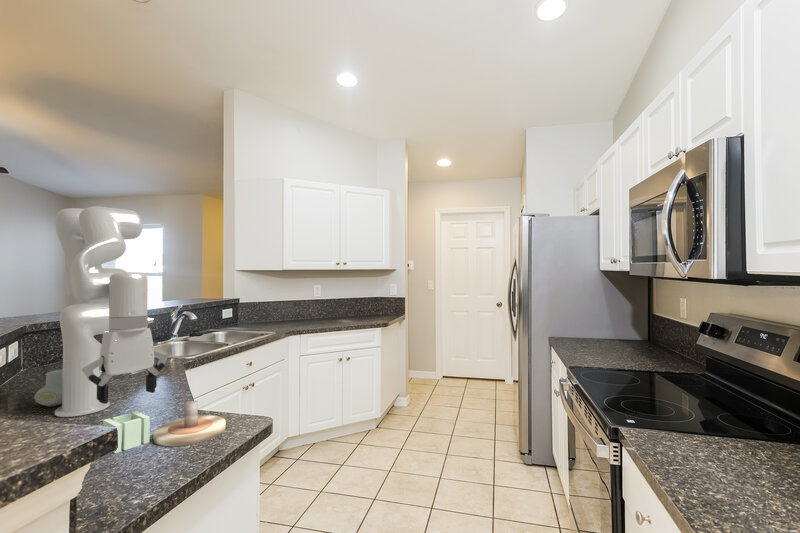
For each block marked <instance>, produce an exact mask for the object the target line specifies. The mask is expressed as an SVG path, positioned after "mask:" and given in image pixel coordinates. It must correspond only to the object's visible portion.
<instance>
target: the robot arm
mask: <svg viewBox="0 0 800 533" xmlns="http://www.w3.org/2000/svg"><path fill="white" fill-rule="evenodd" d="M56 213H57V214H56V216H55V222H54V224H55V231H56V235H57V238H58V241H59V243H60V245H61V246H62V249H63V252H64V258H65V259H64V264H65V265H64V268H65V273H64V274H65V290H66V294H67V296H68V297H69V298H72V299H75V300H77V301H78V302H79V303H76V304H72V305H68V306H66V307H65V308H63V309H62V310H61V312H60V314H59V326H60V331H61V338H62V369H63V383H62V404H61V406H59V407H58V408H56V409H55V410H54V415H55V416H56V417H61V418H69V417H70V418H73V417H80V416H85V415H90V414H93V413H97V412H100V411H103V410H105V409H107V408H109V407H110V400H109V385H108V384H107V383H108V382H109V380H110V379H111V378H112V377H113V376H119V375H124V374H130V373H131V374H132V373H137V372H141V371H145V372H146V373H147V374H146V376H145V391H146V392H148V393H151V394H153V393H155V392H156V390H155V389H157V378H158V377H157V376H158V375H159V373H160V372H161V371H162V370H163V368H164V367H165V364H166V363H167V361H168V358H169V356H168V355H167V354H165V353H162V352H158V351H156V350H155V348H154V340H153V334H152V330H151V328H150V327H149V324H152V323H154V317H150V316H149V315H148V276H147V274H145V273H142V272H133V271H132V272H131V271H129V272H127V270H125V269H122V268H115V267H114V268H111V267H110V268H109V267H108V268H105V267H103V266H102V265H105V264H106V263H110V262H112V261H116V260H117V259H120V258H121V257H122V256H123V255H124V254H125V252H126V250H127V245H126V243H125V240H133V239H136V238H138V237H140V236H141V234H142V232H143V222H142V221H143V220H142V217H141V216H140V215H139V214H138V212H136V211H135V210H131V209H126V208H117V207H108V206H99V205H98V206H97V205H96V206H95V205H94V206H90V207H89V206H88V207H86V208H80V207H79V208H78V207H71V208H69V207H68V208H63V209H60V210H59V211H58V212H56ZM97 335H103V336H102V339H101V342H100V341H98V340H97V339H96V338H95V336H97ZM155 358H156V359H158V362H157V363H156V364H155Z"/></svg>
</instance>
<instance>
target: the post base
mask: <svg viewBox="0 0 800 533" xmlns="http://www.w3.org/2000/svg"><path fill="white" fill-rule="evenodd" d="M183 410H184V414H183V417H182V418H178V419H175V420H171V421H169V422H166V423H164V424H162V425H160V426H158V427H157V428H156V429H155V430H154V431H153V435H152V436H153V438H152V439H153V443H154V444H156V445H158V446H163V447H183V446H184V447H185V446H190V445H195V444H199V443H203V442H206V441H209V440H212V439H213V438H217V437H218V436H220V435H221V434H222V433H224V431H225V430H226V424H227V421H226V419H225V418H224V417H221V416H218V415H209V414H206V415H205V414H204V415H199V412H198V410H199V401H198V400H189V401H187V402H185V403H184V409H183Z"/></svg>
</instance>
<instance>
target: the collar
mask: <svg viewBox="0 0 800 533" xmlns="http://www.w3.org/2000/svg"><path fill="white" fill-rule="evenodd" d="M150 422H151V416H149V415H146V414H144V413H141V412H140V411H138V410H137V411H133V412H131V413H129V412H128V413H125V414H120V415H118V416H113V417H112V418H106V419H103V420H102V427H103V426H109V427H115V428H117V430H118V448H117V450H116V451H114V452H113V454H118V453H121V452H122V450H123V451H126V450H130V449H133V448H136V447H139V446H142V444H143V445H145V444H148V443H150V441H151V440H150V438H151V437H150V436H151V435H150V434H151V432H150V430H151V429H150V427H151V424H150Z"/></svg>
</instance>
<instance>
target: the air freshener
mask: <svg viewBox="0 0 800 533" xmlns="http://www.w3.org/2000/svg"><path fill="white" fill-rule="evenodd" d="M62 383H63V368H62V369H55V370H51V371H48V372H46V373H45V386H43V387H41V388H40V389H38V391H36V393H35V394H34V400H35V402H36V403H37V404H39V405H42V406H46V407H57V406H60V405H61V406H62Z"/></svg>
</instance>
